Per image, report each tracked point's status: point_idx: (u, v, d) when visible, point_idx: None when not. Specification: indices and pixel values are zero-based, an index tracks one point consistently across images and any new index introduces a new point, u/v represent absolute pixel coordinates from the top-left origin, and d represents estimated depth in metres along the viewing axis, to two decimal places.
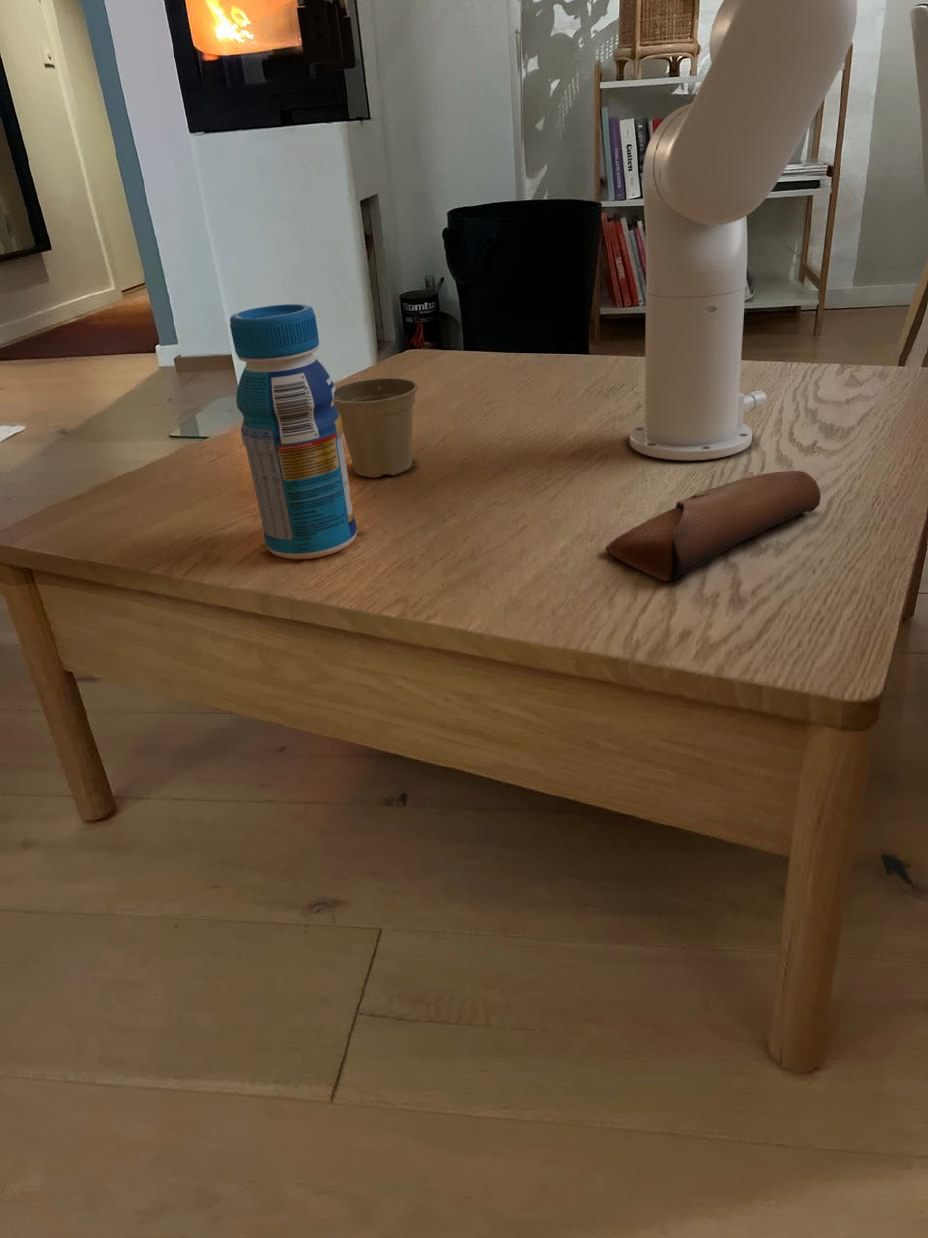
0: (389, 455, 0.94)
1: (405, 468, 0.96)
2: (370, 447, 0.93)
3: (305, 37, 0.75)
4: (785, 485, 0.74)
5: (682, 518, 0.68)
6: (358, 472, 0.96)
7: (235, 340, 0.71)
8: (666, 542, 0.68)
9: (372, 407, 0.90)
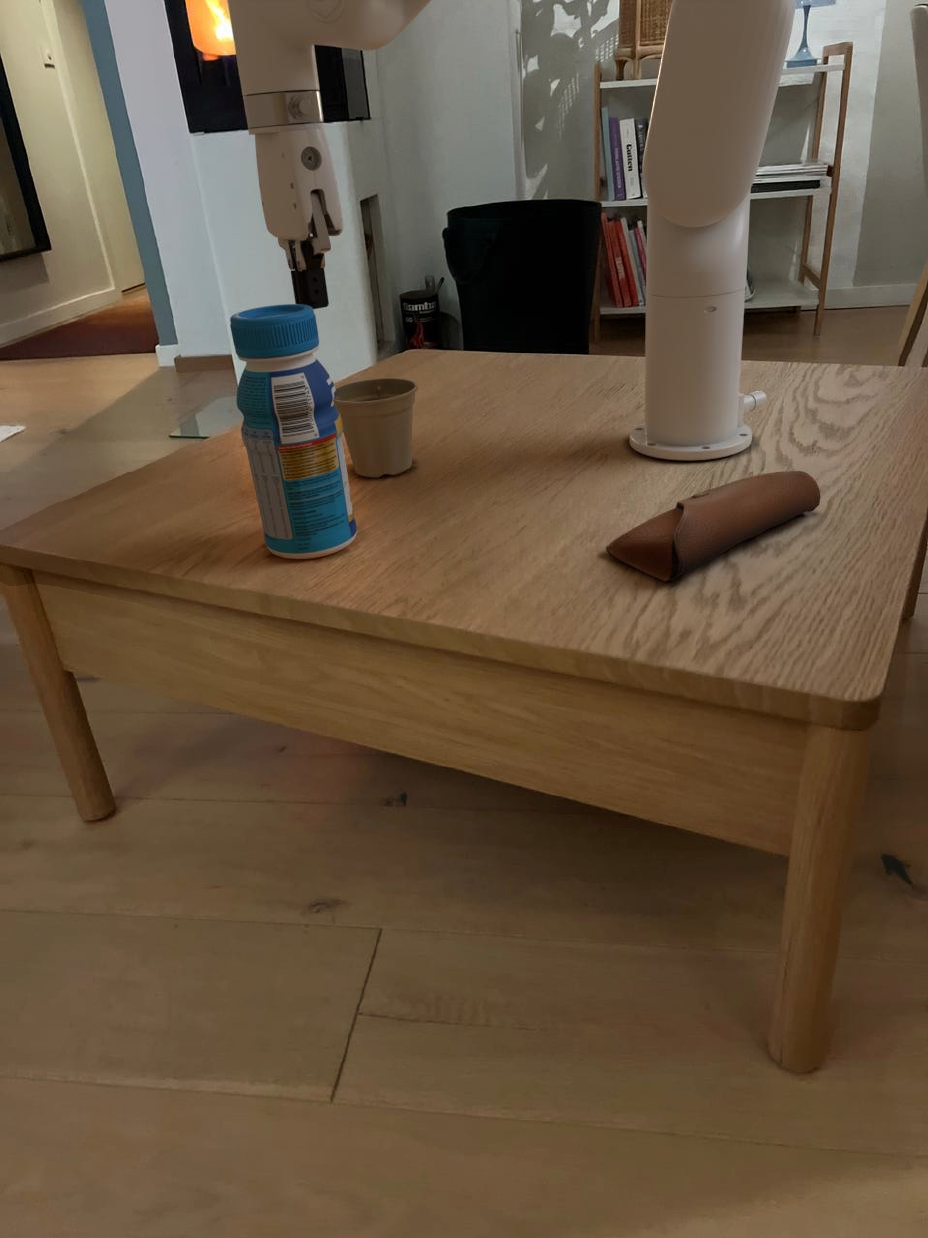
0: (389, 455, 0.94)
1: (405, 468, 0.96)
2: (370, 447, 0.93)
3: (303, 292, 0.96)
4: (785, 485, 0.74)
5: (682, 518, 0.68)
6: (358, 472, 0.96)
7: (235, 340, 0.71)
8: (666, 543, 0.68)
9: (372, 407, 0.90)
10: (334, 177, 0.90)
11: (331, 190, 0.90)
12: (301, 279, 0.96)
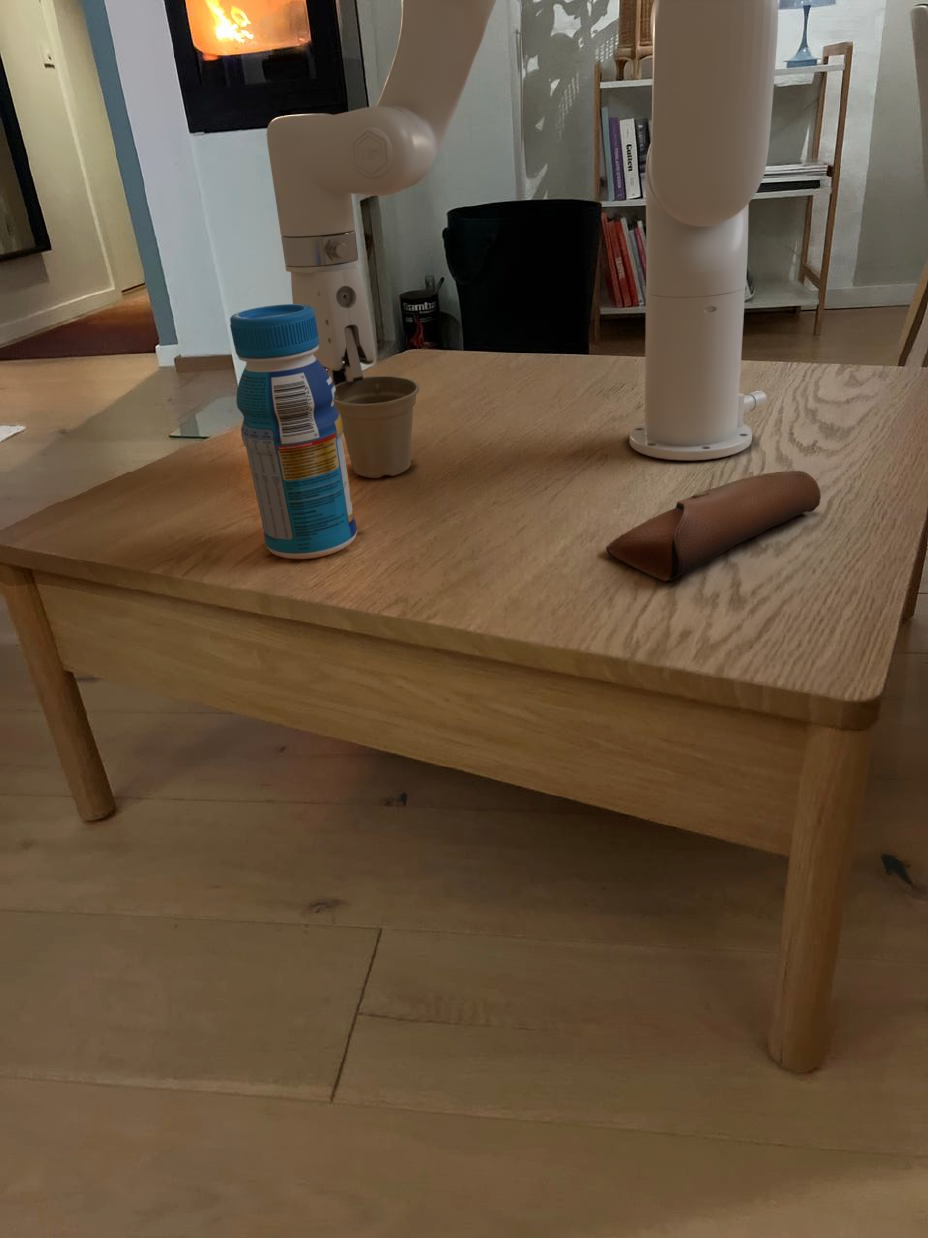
0: (390, 456, 0.93)
1: (405, 468, 0.95)
2: (371, 448, 0.92)
3: None
4: (785, 485, 0.74)
5: (682, 518, 0.68)
6: (358, 472, 0.95)
7: (235, 340, 0.71)
8: (666, 542, 0.68)
9: (375, 410, 0.89)
10: (367, 312, 0.93)
11: (364, 325, 0.93)
12: None
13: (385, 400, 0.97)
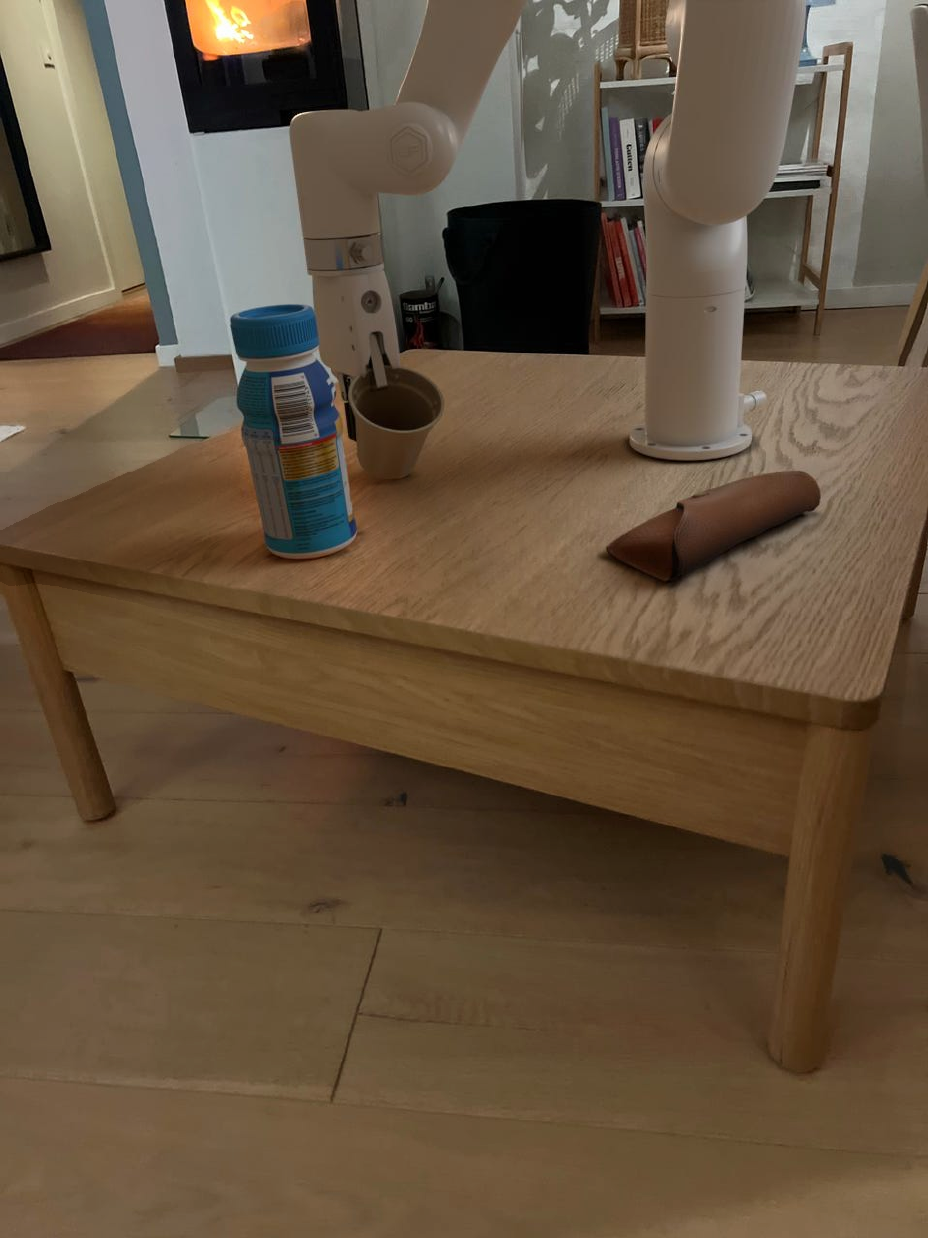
0: (401, 465, 0.92)
1: (411, 471, 0.94)
2: (384, 458, 0.90)
3: None
4: (785, 485, 0.74)
5: (682, 518, 0.68)
6: (363, 467, 0.93)
7: (235, 340, 0.71)
8: (666, 543, 0.68)
9: (399, 435, 0.86)
10: (393, 318, 0.88)
11: (390, 331, 0.88)
12: None
13: (402, 391, 0.92)
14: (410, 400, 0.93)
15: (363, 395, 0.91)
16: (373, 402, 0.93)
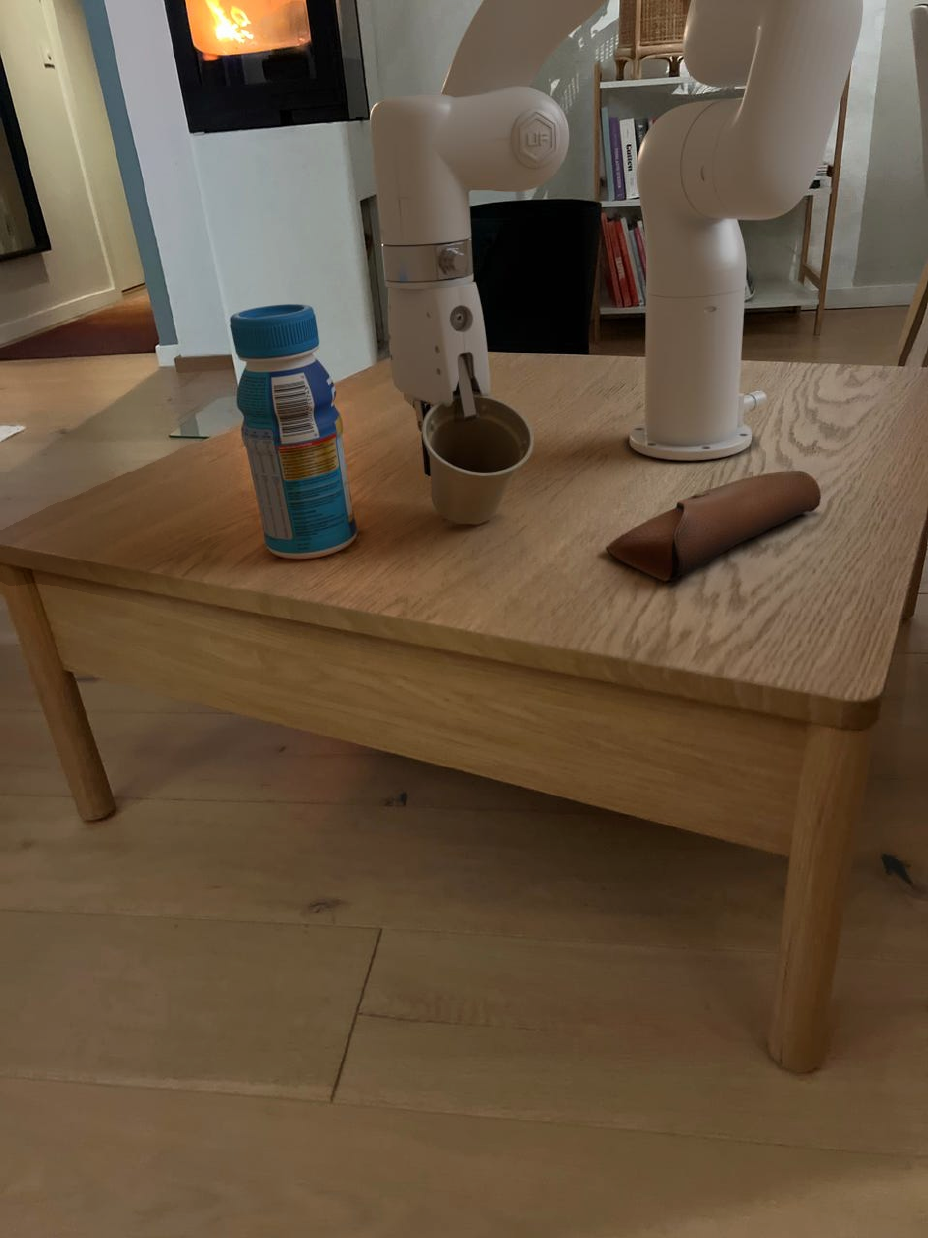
0: (478, 511, 0.79)
1: (491, 517, 0.81)
2: (459, 501, 0.78)
3: None
4: (785, 485, 0.74)
5: (682, 518, 0.68)
6: (436, 508, 0.81)
7: (235, 340, 0.71)
8: (666, 543, 0.68)
9: (474, 477, 0.74)
10: (485, 338, 0.76)
11: (481, 353, 0.76)
12: None
13: (489, 425, 0.80)
14: (497, 435, 0.80)
15: (443, 426, 0.79)
16: (455, 435, 0.80)
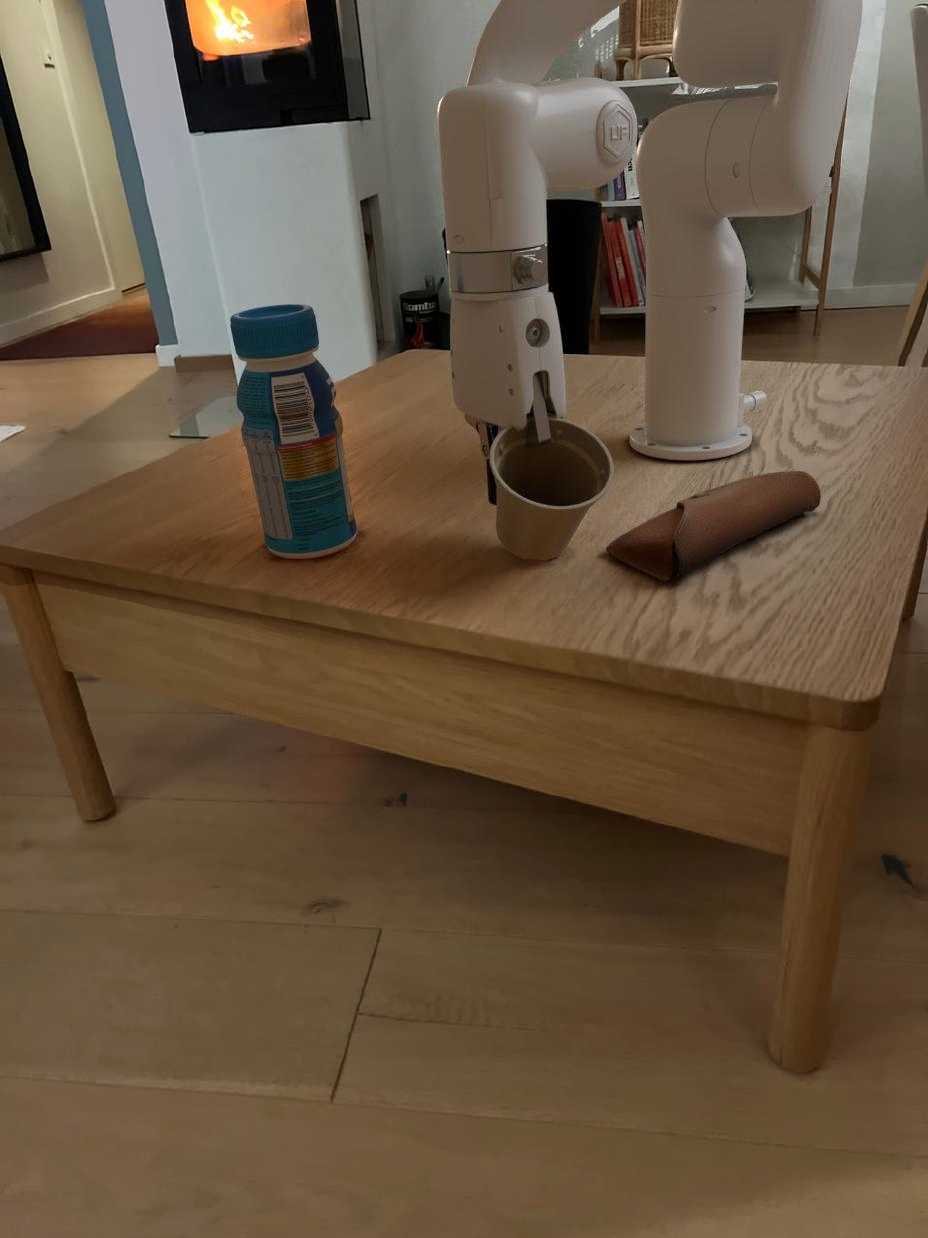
0: (548, 546, 0.71)
1: (561, 552, 0.73)
2: (526, 535, 0.70)
3: None
4: (785, 485, 0.74)
5: (682, 518, 0.68)
6: (501, 540, 0.73)
7: (235, 340, 0.71)
8: (666, 543, 0.68)
9: (545, 510, 0.66)
10: (561, 354, 0.68)
11: (557, 370, 0.68)
12: None
13: (563, 451, 0.72)
14: (572, 463, 0.72)
15: (513, 451, 0.71)
16: (526, 461, 0.73)
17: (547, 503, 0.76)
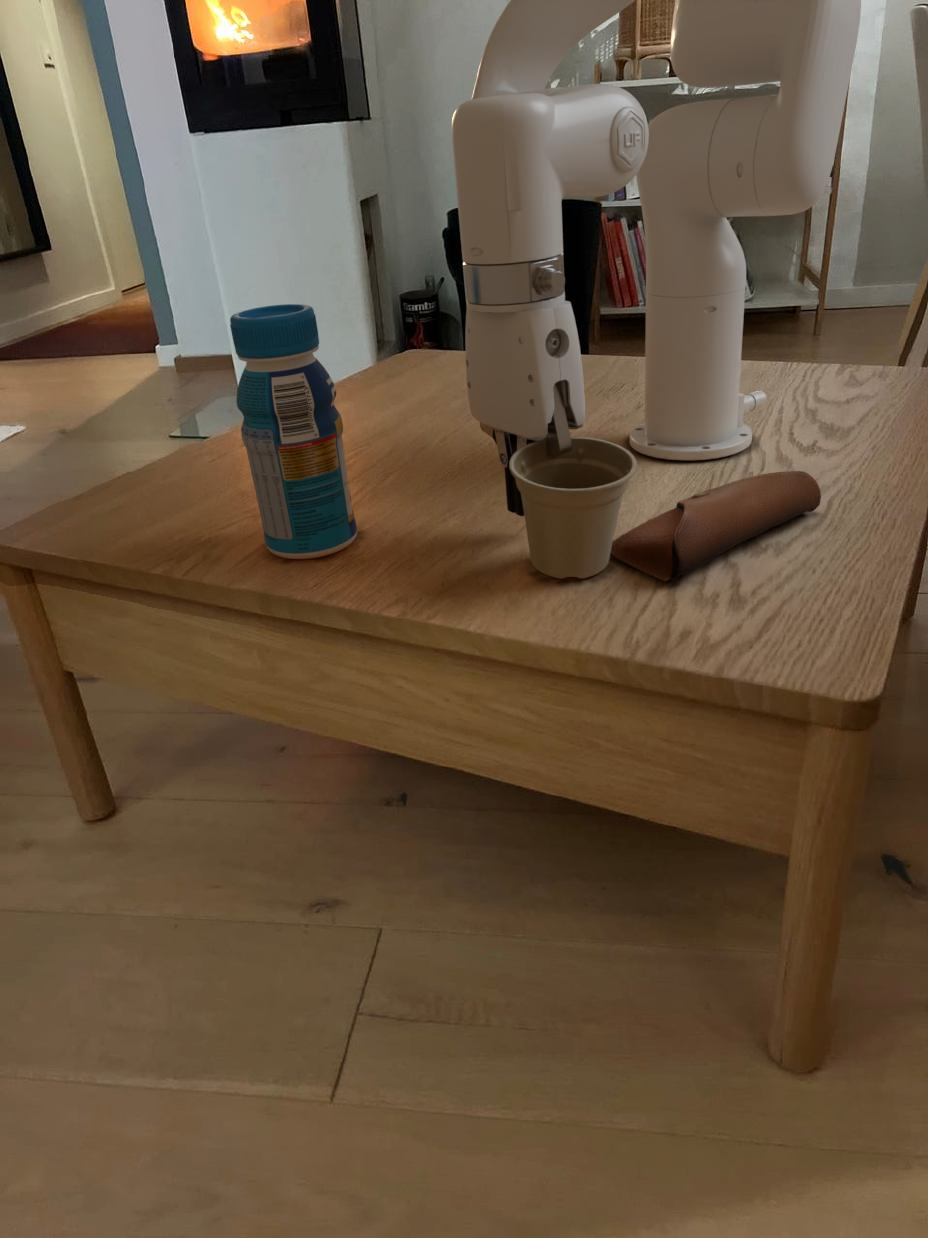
0: (581, 555, 0.68)
1: (599, 570, 0.70)
2: (557, 542, 0.68)
3: None
4: (785, 485, 0.74)
5: (682, 518, 0.68)
6: (535, 565, 0.71)
7: (235, 340, 0.71)
8: (666, 543, 0.68)
9: (568, 497, 0.64)
10: (580, 362, 0.68)
11: (577, 379, 0.69)
12: None
13: (589, 471, 0.71)
14: (599, 481, 0.71)
15: (537, 474, 0.71)
16: (553, 488, 0.72)
17: None
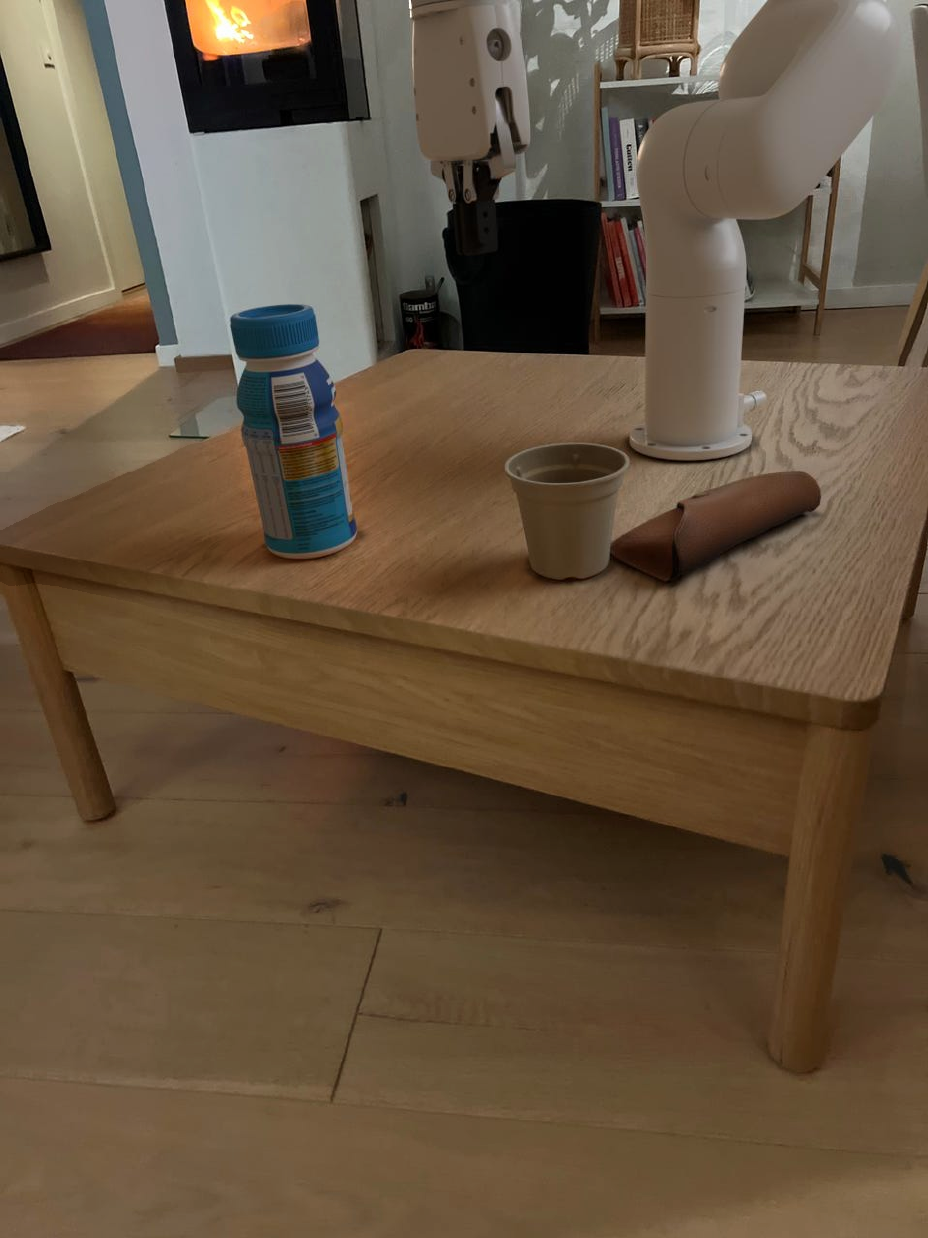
0: (579, 553, 0.68)
1: (599, 570, 0.70)
2: (554, 541, 0.68)
3: (468, 231, 0.74)
4: (785, 485, 0.74)
5: (683, 518, 0.68)
6: (535, 569, 0.71)
7: (235, 340, 0.71)
8: (666, 543, 0.68)
9: (561, 492, 0.65)
10: (524, 72, 0.68)
11: (520, 89, 0.68)
12: (468, 214, 0.74)
13: (584, 475, 0.72)
14: None
15: (534, 480, 0.72)
16: None
17: None
